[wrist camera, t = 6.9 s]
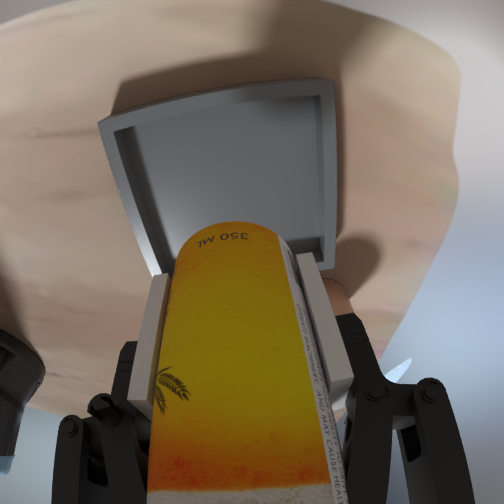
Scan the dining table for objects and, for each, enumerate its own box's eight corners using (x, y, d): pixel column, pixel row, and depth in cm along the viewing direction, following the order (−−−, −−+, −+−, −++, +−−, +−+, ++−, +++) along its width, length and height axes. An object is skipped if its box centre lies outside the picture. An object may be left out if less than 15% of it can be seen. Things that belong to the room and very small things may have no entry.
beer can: (154, 245, 15) (103, 576, 3) (259, 190, 14) (333, 612, 2) (216, 314, 18) (223, 569, 6) (307, 276, 17) (375, 556, 5)
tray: (163, 275, 29) (159, 293, 27) (110, 115, 19) (97, 122, 17) (326, 251, 28) (334, 268, 26) (322, 77, 19) (333, 80, 17)
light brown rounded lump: (286, 326, 35) (294, 368, 30) (283, 284, 31) (293, 329, 26) (343, 316, 35) (357, 356, 30) (348, 273, 31) (367, 315, 26)
